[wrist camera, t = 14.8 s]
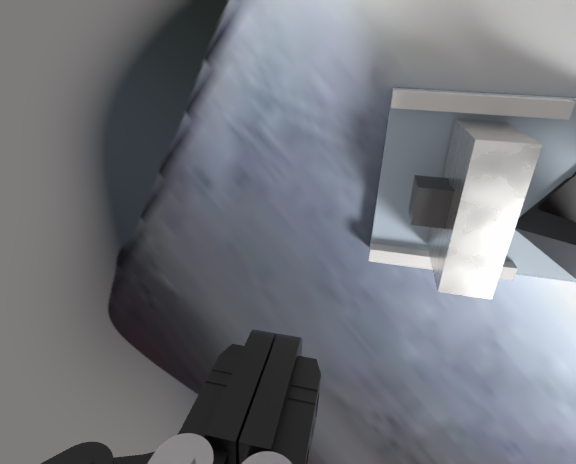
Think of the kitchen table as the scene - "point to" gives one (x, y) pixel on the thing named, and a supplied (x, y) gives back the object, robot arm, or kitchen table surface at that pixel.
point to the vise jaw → (474, 204)
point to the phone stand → (554, 225)
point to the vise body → (432, 157)
